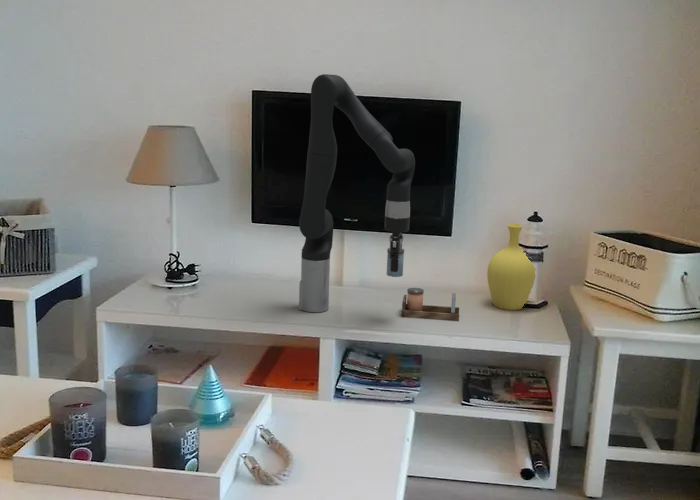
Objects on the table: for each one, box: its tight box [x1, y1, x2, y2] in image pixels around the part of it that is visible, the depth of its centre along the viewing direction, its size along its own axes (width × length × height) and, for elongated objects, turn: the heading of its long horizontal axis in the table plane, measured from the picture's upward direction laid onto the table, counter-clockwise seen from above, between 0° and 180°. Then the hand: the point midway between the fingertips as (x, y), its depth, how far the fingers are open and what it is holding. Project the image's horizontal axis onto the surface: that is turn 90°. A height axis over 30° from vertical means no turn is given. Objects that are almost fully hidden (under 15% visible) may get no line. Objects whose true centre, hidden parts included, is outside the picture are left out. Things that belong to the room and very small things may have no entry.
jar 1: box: [386, 247, 405, 278], centre depth 241 cm, size 5×5×8 cm
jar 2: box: [406, 287, 425, 311], centre depth 251 cm, size 5×5×8 cm
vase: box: [486, 223, 536, 311], centre depth 265 cm, size 16×16×28 cm
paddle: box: [450, 292, 457, 314], centre depth 250 cm, size 1×6×7 cm, turn 172°
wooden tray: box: [401, 294, 460, 322], centre depth 251 cm, size 18×8×6 cm, turn 82°
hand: (394, 269), depth 242 cm, fingers closed on jar 1, 5 cm apart
